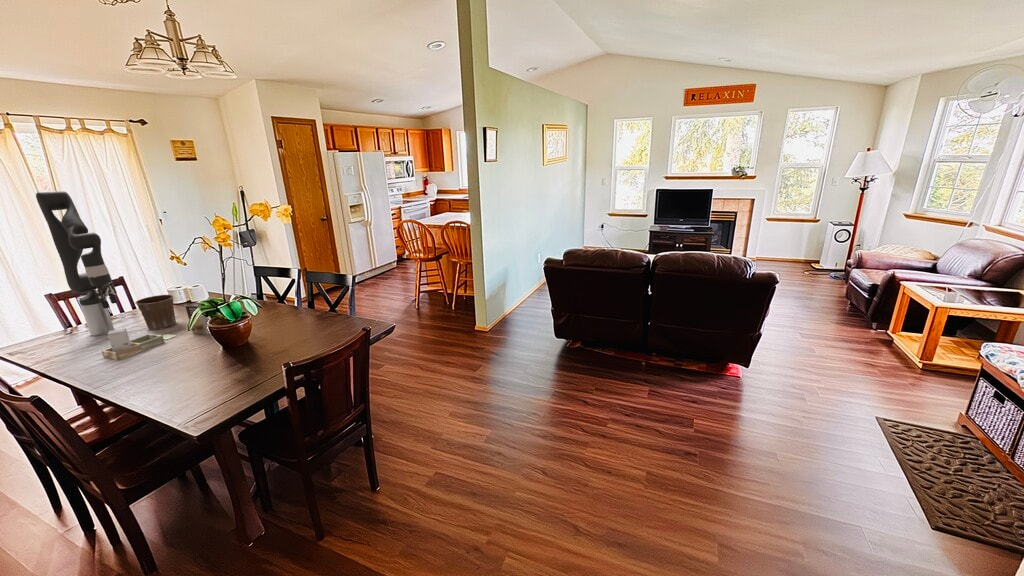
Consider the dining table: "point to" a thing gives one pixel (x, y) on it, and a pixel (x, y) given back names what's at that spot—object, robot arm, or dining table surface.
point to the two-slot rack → (134, 346)
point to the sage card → (168, 336)
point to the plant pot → (157, 311)
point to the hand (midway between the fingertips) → (110, 305)
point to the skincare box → (119, 340)
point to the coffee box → (201, 323)
